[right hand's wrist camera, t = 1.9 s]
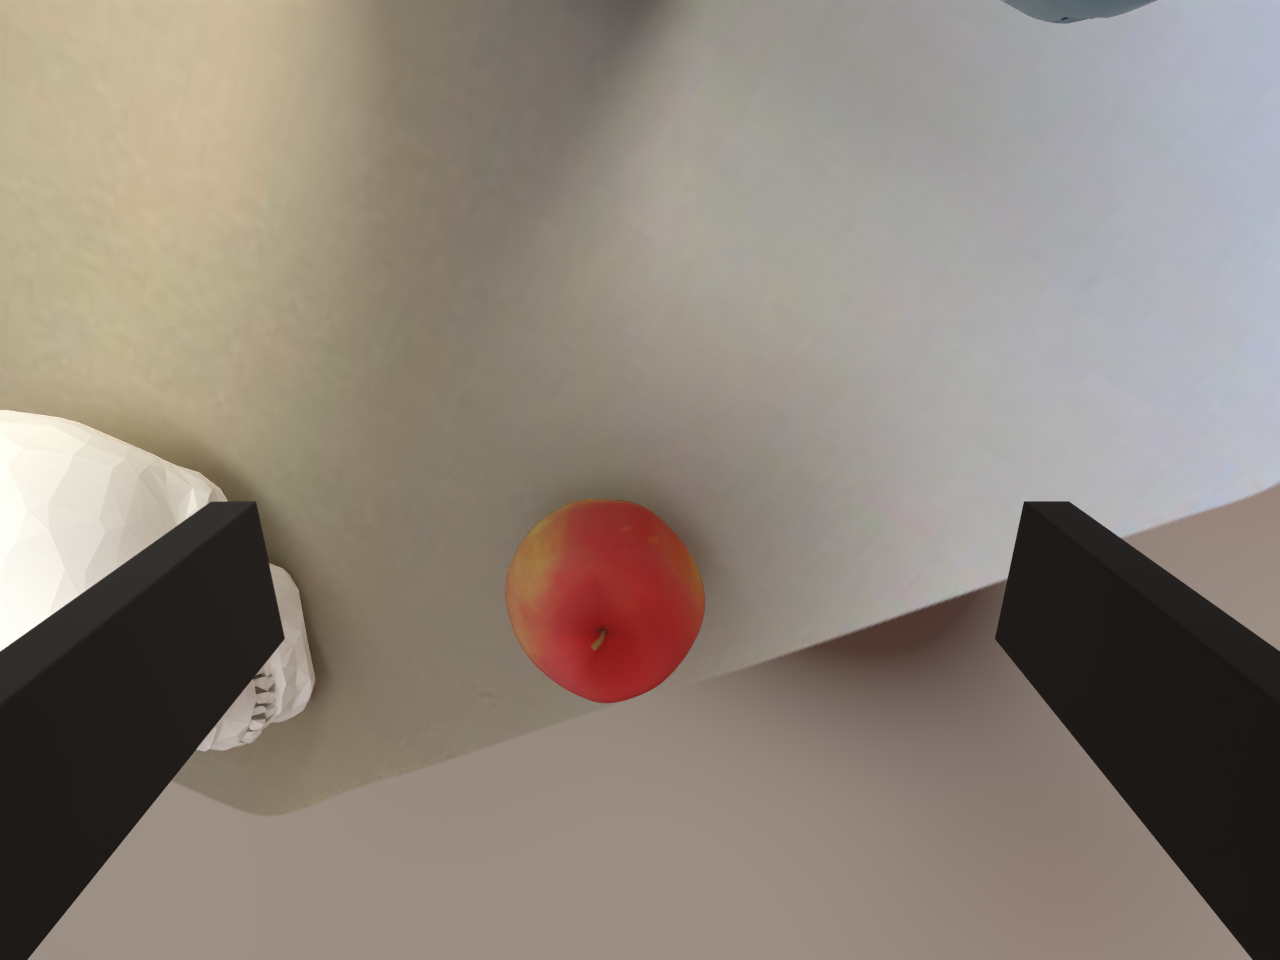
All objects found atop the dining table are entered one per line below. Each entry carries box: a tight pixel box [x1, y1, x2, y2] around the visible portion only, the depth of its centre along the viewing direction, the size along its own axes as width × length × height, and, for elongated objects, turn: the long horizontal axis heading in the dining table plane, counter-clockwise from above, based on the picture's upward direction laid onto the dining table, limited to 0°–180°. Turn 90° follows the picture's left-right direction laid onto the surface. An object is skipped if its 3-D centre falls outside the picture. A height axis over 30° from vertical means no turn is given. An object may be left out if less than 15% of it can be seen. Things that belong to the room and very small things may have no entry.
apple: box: [505, 499, 705, 703], centre depth 36 cm, size 10×10×10 cm
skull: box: [0, 410, 315, 751], centre depth 34 cm, size 13×22×16 cm, turn 36°
